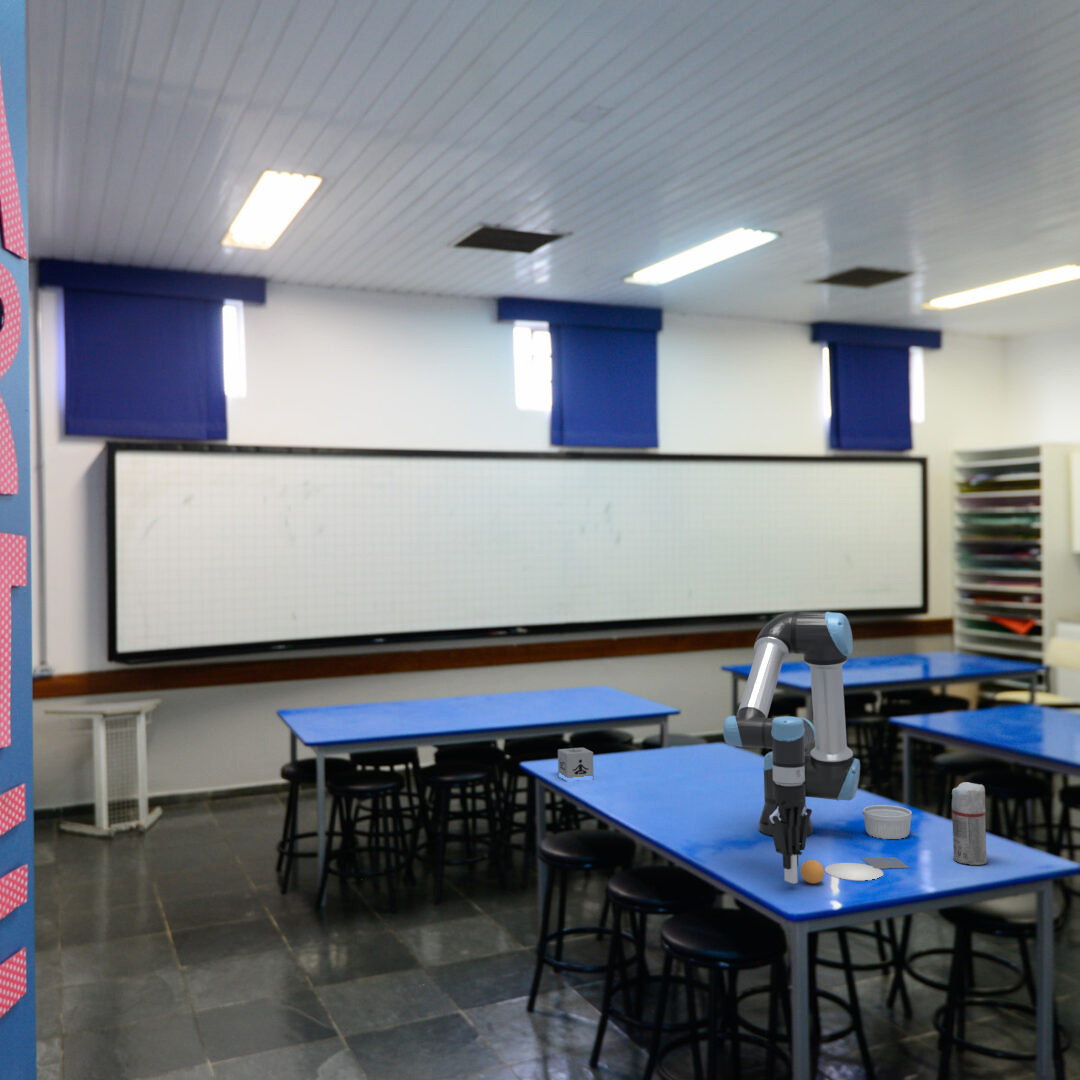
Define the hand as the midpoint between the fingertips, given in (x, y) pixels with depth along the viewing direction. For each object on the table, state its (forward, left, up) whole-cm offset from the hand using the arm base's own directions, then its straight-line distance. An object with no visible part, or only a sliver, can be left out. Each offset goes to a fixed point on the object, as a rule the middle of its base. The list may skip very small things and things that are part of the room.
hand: (791, 881), depth 242 cm
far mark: (-30, +17, -2) cm, 34 cm away
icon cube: (-91, -99, -2) cm, 135 cm away
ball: (-6, +4, +1) cm, 7 cm away
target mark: (-19, +11, -2) cm, 22 cm away
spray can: (-40, +37, -2) cm, 55 cm away
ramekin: (-58, +14, -2) cm, 60 cm away
